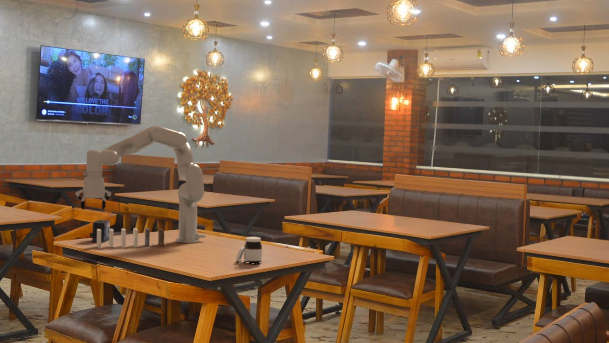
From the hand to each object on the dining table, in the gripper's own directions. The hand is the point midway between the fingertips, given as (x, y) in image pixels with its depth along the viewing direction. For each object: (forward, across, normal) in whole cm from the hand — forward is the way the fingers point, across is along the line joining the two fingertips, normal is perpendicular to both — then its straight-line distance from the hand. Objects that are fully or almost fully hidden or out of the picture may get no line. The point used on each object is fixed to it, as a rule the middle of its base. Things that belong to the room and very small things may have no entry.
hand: (93, 209), depth 357 cm
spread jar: (+19, +60, -60) cm, 87 cm away
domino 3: (+19, +15, -1) cm, 24 cm away
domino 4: (+19, +21, -2) cm, 28 cm away
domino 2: (+19, +9, -1) cm, 21 cm away
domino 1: (+19, +3, 0) cm, 19 cm away
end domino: (+19, +27, -3) cm, 33 cm away
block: (+19, +34, -3) cm, 39 cm away
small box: (+19, +8, +19) cm, 29 cm away
